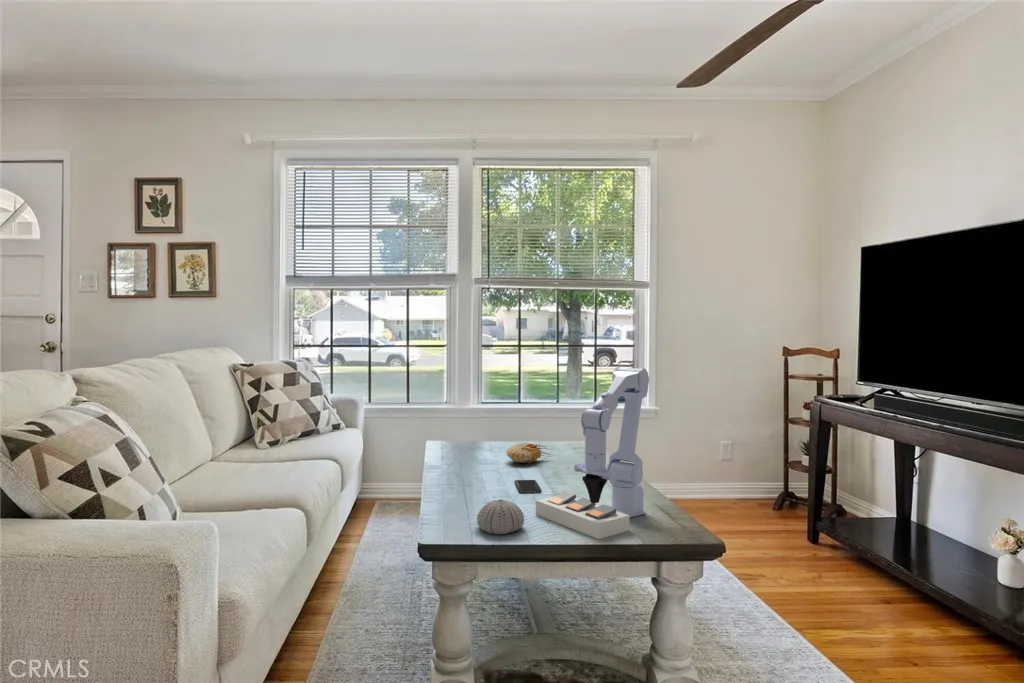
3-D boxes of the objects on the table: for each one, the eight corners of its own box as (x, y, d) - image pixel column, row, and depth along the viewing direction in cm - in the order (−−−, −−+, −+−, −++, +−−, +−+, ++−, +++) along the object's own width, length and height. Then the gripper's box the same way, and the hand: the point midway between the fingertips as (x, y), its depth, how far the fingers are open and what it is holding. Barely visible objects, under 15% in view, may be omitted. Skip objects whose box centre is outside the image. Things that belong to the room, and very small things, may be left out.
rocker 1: (565, 495, 179) (564, 490, 179) (576, 498, 175) (575, 493, 175) (548, 505, 175) (547, 500, 175) (559, 509, 171) (558, 504, 171)
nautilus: (547, 458, 256) (560, 467, 241) (500, 457, 250) (510, 467, 235) (549, 440, 255) (561, 448, 241) (502, 439, 249) (511, 448, 235)
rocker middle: (583, 502, 173) (582, 497, 173) (595, 506, 169) (595, 501, 169) (566, 511, 169) (565, 505, 169) (578, 515, 165) (577, 510, 165)
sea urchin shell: (476, 537, 156) (476, 507, 155) (476, 521, 169) (476, 493, 169) (526, 537, 156) (526, 507, 156) (522, 521, 170) (522, 493, 170)
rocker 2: (603, 509, 167) (602, 503, 166) (616, 513, 163) (615, 508, 162) (585, 518, 162) (585, 512, 162) (598, 522, 158) (598, 517, 158)
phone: (519, 491, 198) (514, 480, 213) (519, 494, 198) (514, 483, 213) (542, 490, 199) (535, 479, 214) (542, 494, 199) (535, 482, 214)
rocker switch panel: (565, 507, 183) (565, 493, 183) (629, 530, 162) (629, 515, 162) (535, 514, 176) (535, 500, 175) (598, 539, 155) (598, 523, 155)
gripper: (566, 450, 164) (566, 498, 164) (604, 459, 152) (603, 511, 153) (584, 447, 168) (584, 494, 168) (622, 456, 157) (622, 506, 157)
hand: (594, 502), depth 161 cm, fingers closed
